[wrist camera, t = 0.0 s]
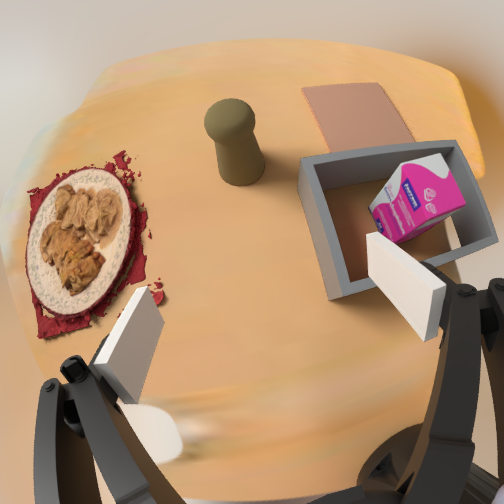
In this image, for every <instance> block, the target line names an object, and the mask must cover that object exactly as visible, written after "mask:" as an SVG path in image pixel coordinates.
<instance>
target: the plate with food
mask: <svg viewBox="0 0 504 504" xmlns="http://www.w3.org/2000/svg"><path fill="white" fill-rule="evenodd" d="M125 152H126V151H125V150H124V151H121V152H120V153H118V154H117V155H115V156H114V157H113V158H114V159H115V161H116V165H117V166H118V169H122V170H123V171H124V170H127V171H128V172H130V171H131V169H128V167H127V164H129V163H130V161H131V158H128V159H127V161H126V162H123V159H122V157H123V156H125V155H124V153H125ZM126 155H127V154H126ZM127 156H128V155H127ZM135 159H136V158H135ZM101 160H102V159H101ZM113 164H114V163H110V162H108V164H106V165H105V166H106V167H105V168H104V169H102V168H101V169H100V168H97V169H96V167H94V168H93V167H90V166H89V167H90V168H89V167H88V168H87V166H85V167H83V168H81V169H79V170H77V169H75V170H70V172H69V173H68V174H66V173H62V175H63V176H62V177H61V178H60V175H59V174H58V173H57V174H56V176H57V177H56V179H54V180H53V181H52V183H51V184H50V185H49V186H47V187H45V188H44V189H39V188H38V187H37V188H35V189H32V190H30V191H27V193H31V192H32V193H35V192H36V191H37V190H38V191H37V192H36V193H35V194H33V195H30V201H31V208H32V210H31V211H30V228H29V231H28V232H29V233H28V242H27V246H26V257H25V259H26V266H25V267H26V274H27V277H28V279H29V283H30V287H31V293H32V302H33V304H34V307H35V309H36V317H37V323H38V336H37V337H38V338H39V339H43V338H45V337H49V336H53V335H57V334H60V331H63V332H69V331H72V330H76V329H79V328H83V327H85V326H90V325H89V322H90V320H91V318H90V315H92V314H93V313H95V314H96V315H98V316H100V317H104V316H105V315H106V313H105V315H104V313H103V312H104V310H105V308H106V307H107V306H109V305H110V304H111V299H109V298H112V297H114V296H117V293H119V292H120V291H121V290H123V288H124V287H125V284H126V285H128V284H129V283H130V284H131V285H132V284H135V283H138V282H141V281H143V280H144V279H145V278H146V275H145V270H144V269H145V263H146V260H147V255H145V256H144V255H143V248H142V247H143V245H142V244H143V243H142V242H141V241H142V240H141V237H140V235H141V233H142V232H143V231H144V228H145V226H146V219H147V215H146V211H143V212H142V213H140V211H139V207H137V204H136V203H134V202H133V201H132V199H131V196H130V192H129V191H128V189H127V186H130V185H131V184H130V183H127V180H128V178H129V177H130V178H132V181H134V177H133V175H134V174H135V172H134V173H132V171H131V173H130V174H129V176H126V174H127V173H125V172H124V174H123V176H122V177H123V178H124V180H122V179H121V178H119V177H117V176H116V175H115V174H116V173H117V172H118V171H117V172H115V170H116V168H115V167H116V165H113ZM93 165H94V164H91V166H93ZM76 170H77V171H76ZM140 176H141V175H140V173H139V174H138V177H140ZM125 177H126V178H127V179H125ZM131 188H132V187H131ZM129 190H130V189H129ZM140 206H142V207H144V203H143V204H142V205H140ZM145 210H146V208H145ZM135 211H136V212H135ZM137 213H138V214H137ZM135 218H136V219H135ZM139 219H140V220H139ZM140 221H141V222H140ZM141 227H142V228H141ZM142 229H143V231H142ZM148 237H149V238H150V239H151V237H150V232H149V236H148ZM140 242H141V243H142V244H141V243H140ZM135 252H136V254H135ZM134 254H135V257H136V258H134V261H133V264H132V265H133V266H132V267H130V269H129V272H128V274H127V276H129V277H128V278H127V277H126V279H125V280H123V281H122V283H121V284H120V286H119V287H118V289H117V293H116V294H115V293H111V291H112V290H114V288H115V286H116V284H117V282H118V280H119V279H120V277H121V276H122V275H123V274H124V273H125V271H126V267H127V266H128V265H129V261H130V260H131V258H132V256H133V255H134ZM129 279H130V280H129ZM158 280H160V277H159V278H158ZM126 281H127V283H126ZM160 283H161V282H159V283H158V282H154V284H156V286H157V288H156V289H161V288H162V286H161V284H160ZM147 286H151V284H148V285H147ZM154 290H155V289H154ZM150 292H151V294H153V296H152V297H153V298H154V299H155V300H154V301H155V303H156V305H158V304H159V303H160V302H161V300H162V298H163V290H162V291H161V292H159V291H158V292H153V291H150ZM109 294H110V296H109ZM108 299H109V300H110V301H109V303H106V302H107V300H108ZM39 303H40V304H41V305H42V306H43V308H45V309H46V310H47V311H48V312H49V313H50V314H53V315H55V317H54V318H51V317H50V320H49V318H47V316H46V315H45V316H43V312H42V308H41V306H40V304H39ZM123 310H124V309H123ZM120 315H121V313H120V314H119V316H118V317H120ZM118 317H117V318H118ZM64 322H65V323H64Z"/></svg>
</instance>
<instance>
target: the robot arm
mask: <svg viewBox="0 0 504 504" xmlns="http://www.w3.org/2000/svg"><path fill="white" fill-rule="evenodd" d="M366 240H367V256H368V276H369V277H370V278H371V279H372V280H373V281H374V282H375V284H376V285H377V286H378V287H379V288H380V289H381V290H382V292H383V293H384V294H385V295H386V296H387V297H388V299H389V300H390V301H391V302H392V303H393V304H394V306H395V307H396V308H397V309H398V310H399V312H400V313H401V314H402V315H403V317H404V318H405V319H406V320H407V321H408V323H409V324H410V325H411V326H412V328H413V329H414V330H415V331H416V333H417V334H418V335H419V336H420V338H421V339H422V340H423V342H425V341H428V340H430V339H432V338H434V337H436V336H437V333H438V329H439V326H440V327H441V328H442V329H443V331H444V332H443V336H442V340H441V344H440V347H439V349H440V355H439V361H438V366H437V371H436V376H435V381H434V385H433V389H432V393H431V397H430V401H429V405H428V409H427V412H426V415H425V419H424V422H423V423H421V424H417V425H414V426H411V427H409V428H406V429H404V430H402V431H400V432H399V433H397V434H395V435H394V436H392V437H391V438H389V439H388V440H387V441H385V442H384V443H383V444H382V445H381V446H380V447H378V448H377V449H376V450H375V451H374V453H373V454H372V455H371V456H370V457H369V458H368V460H367V461H366V462H365V464H364V465H363V467H362V469H361V471H360V473H359V476H358V479H357V486H356V487H352V488H349V489H346V490H342V491H339V492H335V493H331V494H327V495H325V496H323V497H321V498H319V499H317V500H314V501H312V502H310V503H307V504H504V279H502V278H494V279H492V280H490V283H489V286H488V289H486V290H480V291H477V289H476V288H475V287H473V286H471V285H469V284H458V285H457V284H456V283H455V282H453V281H452V280H451V279H450V278H448V277H447V276H446V275H445V274H443V273H442V272H441V271H439V270H437V268H436V267H434V266H433V265H432V264H430V263H427V262H424V261H420V262H418V261H417V260H415V259H414V258H413V257H411V256H410V255H409V254H407V253H406V252H405V251H403V250H402V249H401V248H399V247H398V246H397V245H395V244H394V243H393V242H391V241H390V240H389V239H387V238H386V237H384V236H383V235H382V234H380V233H379V232H373V233H369V234H366ZM164 323H165V322H164V320H163V318H162V316H161V314H160V312H159V310H158V307H157V305H156V303H155V301H154V299H153V297H152V294H151V292H150V290H149V288H148V286H145V287H140V288H137V289H136V291H135V292H134V294H133V296H132V297H131V299H130V301H129V302H128V304H127V306H126V307H125V309H124V310H123V312H122V314H121V316H120V317H119V319H118V321H117V322H116V324H115V326H114V328H113V329H112V331H111V333H110V334H108V335H107V336H106V337H105V338H104V339H103V340H102V342H101V344H100V345H99V348H98V349H97V351H96V353H95V354H94V356H93V358H92V360H91V362H90V364H89V365H88V366H87V365H86V363H85V362H84V360H83V359H82V358H81V356H79V355H74V356H71V357H69V358H68V359H66V360H65V361H64V362H63V364H62V365H61V367H60V372H61V373H62V374H63V375H64V377H65V378H66V379H67V381H68V382H69V383H67V384H63V385H62V384H61V383H60V382H59V380H58V379H57V378H52V379H49V380H47V381H46V382H45V383H44V384H43V386H42V387H41V390H40V396H39V403H38V410H37V419H36V428H35V440H34V495H35V504H102V501H101V497H100V493H99V488H98V483H97V478H96V472H95V466H94V459H93V456H94V458H95V461H96V463H97V465H98V467H99V469H100V472H101V473H102V476H103V478H104V480H105V482H106V484H107V486H108V488H109V490H110V492H111V494H112V496H113V498H114V499H115V502H116V504H186V503H185V501H184V500H183V499H182V498H181V497H180V496H179V494H178V493H177V492H176V491H175V489H174V488H173V487H172V486H171V484H170V483H169V482H168V481H167V479H166V478H165V477H164V475H163V474H162V473H161V471H160V470H159V469H158V467H157V466H156V464H155V463H154V462H153V460H152V459H151V457H150V456H149V454H148V453H147V451H146V450H145V448H144V447H143V445H142V444H141V442H140V441H139V439H138V437H137V436H136V434H135V432H134V431H133V429H132V427H131V426H130V424H129V422H128V420H127V419H126V417H125V415H124V413H123V411H122V410H121V408H120V406H119V405H118V404H117V403H116V401H117V399H118V397H119V398H120V399H121V400H122V401H123V403H124V404H138V401H139V398H140V395H141V392H142V388H143V385H144V382H145V379H146V376H147V373H148V370H149V367H150V364H151V360H152V358H153V355H154V352H155V349H156V346H157V343H158V340H159V337H160V334H161V331H162V329H163V326H164ZM481 346H482V350H483V354H484V358H485V362H486V366H487V370H488V375H489V380H490V386H491V391H492V397H493V404H494V411H495V420H496V431H497V450H498V476H499V479H498V478H496V477H495V476H493V475H492V474H490V473H488V472H487V471H485V470H484V469H482V468H481V467H479V466H478V465H476V464H474V463H473V462H472V460H473V456H474V450H475V444H474V443H473V442H472V440H471V438H472V433H473V427H474V421H475V416H476V409H477V402H478V393H479V383H480V367H481Z"/></svg>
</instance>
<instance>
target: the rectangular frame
mask: <svg viewBox="0 0 504 504" xmlns="http://www.w3.org/2000/svg"><path fill="white" fill-rule="evenodd" d="M438 153H441V155H442V157H443V159H444V161H445V162H446V164H447V166H448V168H449V170H450V171H451V173H452V175H453V177H454V179H455V181H456V183H457V185H458V187H459V189H460V191H461V193H462V196H463V198H464V200H465V202H466V205H465V206H464V207H462V208H461V209H459V210H458V211H456V212H455V213H453V214H452V215H451V217H452V220H453V223H454V226H455V229H456V232H457V234H458V238H459V241H460V244H461V248H458V249H455V250H452V251H449V252H446V253H444V254H441V255H438V256H435V257H432V258H429V259H426V260H423V261H424V262H427V263H430V264H432V265H433V266H434V267H437V266H440V265H442V264H445V263H448V262H450V261H453V260H456V259H458V258H461V257H463V256H466V255H468V254H471V253H473V252H476V251H478V250H481V249H483V248H485V247H488V246H490V245H492V244H495V243H497V242H499V241H498V237H497V234H496V231H495V228H494V225H493V222H492V219H491V216H490V213H489V211H488V208H487V205H486V203H485V200H484V198H483V195H482V193H481V191H480V188H479V186H478V183H477V181H476V179H475V177H474V175H473V172H472V170H471V168H470V166H469V164H468V162H467V160H466V158H465V156H464V154H463V152H462V150H461V149H460V147H459V145H458V143H457V141H456V140H440V141H425V142H413V143H402V144H392V145H383V146H375V147H367V148H360V149H353V150H346V151H340V152H333V153H327V154H322V155H316V156H310V157H305V158H301V159H300V168H299V177H298V185H297V190H298V193H299V196H300V199H301V203H302V206H303V209H304V212H305V216H306V219H307V222H308V226H309V229H310V233H311V236H312V240H313V243H314V247H315V250H316V254H317V258H318V261H319V265H320V269H321V273H322V277H323V281H324V284H325V288H326V292H327V297H328V301H329V300H333V299H336V298H340V297H344V296H347V295H351V294H354V293H357V292H361V291H364V290H368V289H371V288H374V287H377V285H376V284H375V282H374V281H373V280H372V279H371V278H370V277H368V278H365V279H361V280H358V281H354V282H351V283H350V280H349V276H348V272H347V268H346V265H345V261H344V258H343V254H342V251H341V247H340V244H339V240H338V237H337V234H336V231H335V227H334V224H333V221H332V218H331V215H330V212H329V209H328V206H327V203H326V200H325V197H324V194H323V190H328V189H333V188H338V187H343V186H349V185H354V184H359V183H364V182H370V181H375V180H381V179H387V178H391V176H392V175H393V173H394V172H395V171H396V169H397V168H398V166H399V165H400V164H401V163H404V162H408V161H412V160H416V159H419V158H423V157H427V156H430V155H434V154H438Z"/></svg>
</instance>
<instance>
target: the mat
mask: <svg viewBox="0 0 504 504" xmlns="http://www.w3.org/2000/svg"><path fill="white" fill-rule="evenodd" d="M301 91H302V93H303V95H304V96H305V98H306V100H307V102H308V104H309V106H310V108H311V111H312V113H313V115H314V117H315V119H316V121H317V123H318V125H319V127H320V130H321V132H322V134H323V136H324V138H325V141H326V143H327V145H328V148H329V150H330V152H331V153H333V152H340V151H346V150H353V149H360V148H367V147H375V146H383V145H392V144H402V143H413V142H415V141H414V139H413V137H412V135H411V134H410V132H409V130H408V128H407V127H406V125H405V123H404V122H403V120H402V118H401V117H400V115H399V114H398V112H397V110H396V109H395V107H394V106H393V104H392V103H391V101H390V100H389V98H388V97H387V95H386V94H385V92H384V91H383V89H382V88H381V86H380V85H379V84H378V83H350V84H335V85H323V86H314V87H305V88H302V89H301Z"/></svg>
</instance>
